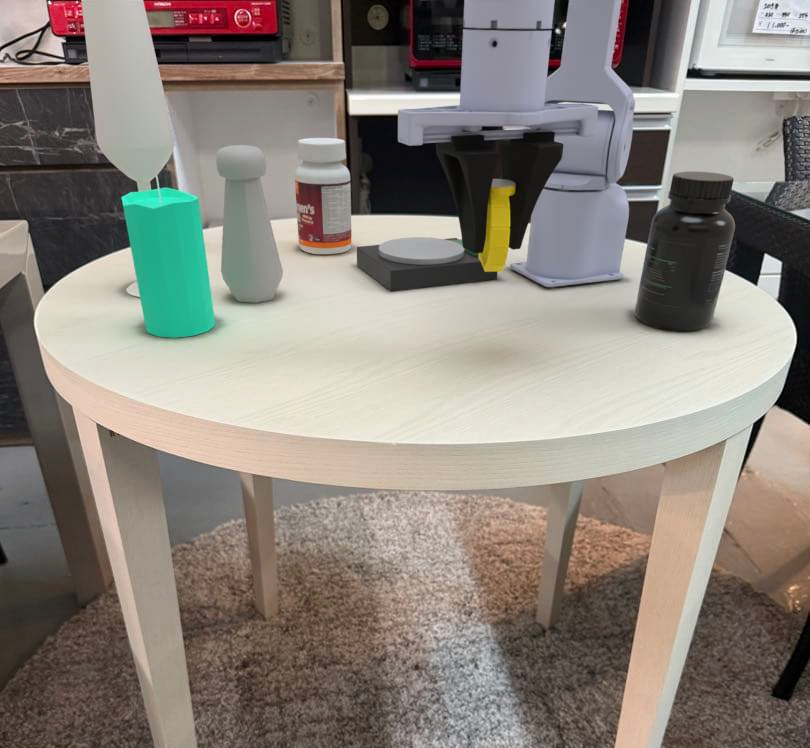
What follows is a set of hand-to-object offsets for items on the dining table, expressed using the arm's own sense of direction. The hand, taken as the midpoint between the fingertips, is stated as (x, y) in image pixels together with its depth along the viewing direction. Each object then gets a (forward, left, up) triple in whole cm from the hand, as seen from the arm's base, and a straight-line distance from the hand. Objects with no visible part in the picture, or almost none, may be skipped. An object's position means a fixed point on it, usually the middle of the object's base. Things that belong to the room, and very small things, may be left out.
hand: (491, 248), depth 57 cm
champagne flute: (+22, -27, -9) cm, 36 cm away
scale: (-5, -23, -8) cm, 26 cm away
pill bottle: (+2, -36, -9) cm, 38 cm away
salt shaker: (+14, -21, -9) cm, 27 cm away
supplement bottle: (-20, -1, -9) cm, 22 cm away
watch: (0, 0, -2) cm, 2 cm away
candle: (+22, -15, -9) cm, 28 cm away
